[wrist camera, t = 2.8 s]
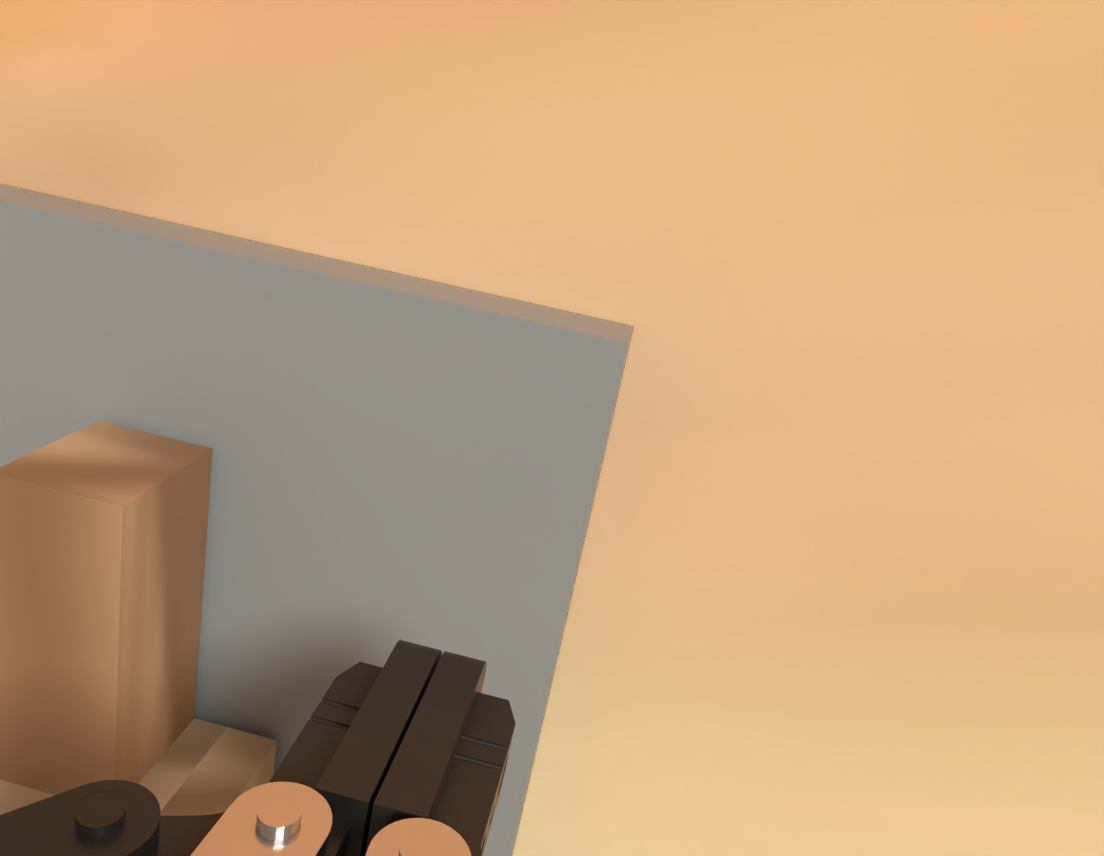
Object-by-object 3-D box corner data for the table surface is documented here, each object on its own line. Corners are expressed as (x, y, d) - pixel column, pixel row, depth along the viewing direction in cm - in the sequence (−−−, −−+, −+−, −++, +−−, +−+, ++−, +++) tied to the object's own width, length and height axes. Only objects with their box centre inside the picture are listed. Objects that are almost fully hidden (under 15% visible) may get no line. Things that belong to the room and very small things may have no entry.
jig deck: (633, 326, 18) (628, 342, 16) (431, 1207, 27) (416, 1266, 26) (-181, 143, 19) (-252, 143, 18) (-104, 1038, 28) (-146, 1085, 27)
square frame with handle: (305, 471, 18) (232, 534, 15) (255, 947, 22) (191, 1065, 19) (9, 398, 18) (-116, 445, 16) (17, 878, 23) (-78, 982, 20)
